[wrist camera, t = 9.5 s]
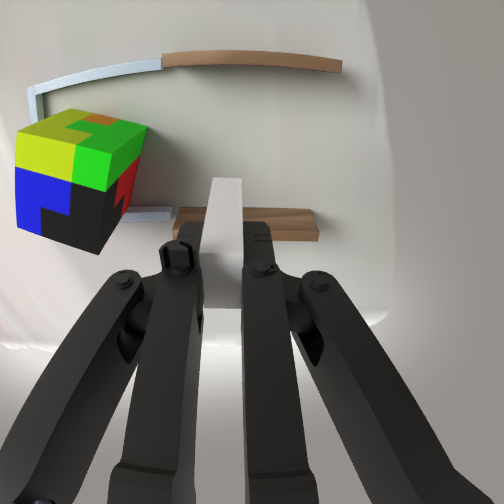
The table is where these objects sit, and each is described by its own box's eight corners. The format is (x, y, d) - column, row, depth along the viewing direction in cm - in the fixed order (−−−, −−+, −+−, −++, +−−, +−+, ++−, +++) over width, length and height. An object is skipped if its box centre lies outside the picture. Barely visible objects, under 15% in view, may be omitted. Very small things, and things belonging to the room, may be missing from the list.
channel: (174, 55, 23) (162, 53, 19) (326, 60, 24) (342, 60, 20) (181, 216, 34) (173, 239, 30) (308, 218, 35) (317, 241, 31)
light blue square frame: (34, 86, 23) (27, 88, 21) (164, 58, 24) (161, 58, 22) (57, 218, 33) (52, 224, 32) (172, 215, 34) (170, 221, 33)
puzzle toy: (60, 185, 31) (17, 227, 22) (70, 108, 25) (17, 131, 17) (129, 205, 33) (98, 255, 25) (148, 126, 28) (111, 154, 20)
